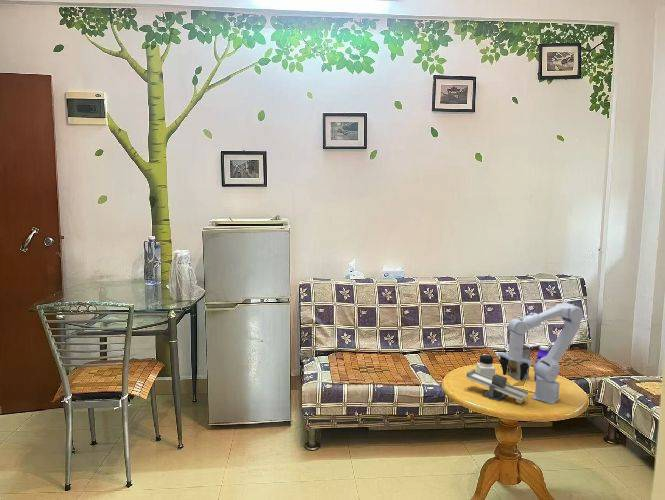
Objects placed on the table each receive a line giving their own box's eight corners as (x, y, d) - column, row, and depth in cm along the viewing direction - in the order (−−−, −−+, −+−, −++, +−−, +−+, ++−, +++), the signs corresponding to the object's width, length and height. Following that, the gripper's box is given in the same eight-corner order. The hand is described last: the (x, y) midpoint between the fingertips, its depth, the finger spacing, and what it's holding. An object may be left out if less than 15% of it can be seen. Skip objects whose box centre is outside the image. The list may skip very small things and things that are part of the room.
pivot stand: (508, 394, 239) (509, 382, 238) (499, 401, 231) (500, 389, 230) (491, 389, 244) (492, 378, 243) (482, 396, 236) (482, 384, 236)
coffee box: (506, 374, 265) (508, 342, 262) (517, 372, 266) (519, 341, 264) (517, 380, 256) (520, 348, 254) (529, 379, 258) (531, 347, 256)
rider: (505, 386, 236) (507, 378, 235) (501, 388, 233) (503, 380, 232) (495, 382, 239) (496, 374, 238) (491, 384, 236) (492, 376, 235)
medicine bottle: (494, 382, 253) (496, 358, 251) (479, 382, 253) (481, 357, 251) (490, 377, 260) (492, 353, 258) (475, 376, 260) (477, 352, 258)
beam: (526, 400, 232) (528, 389, 231) (520, 404, 227) (522, 394, 226) (472, 378, 248) (473, 368, 247) (465, 382, 243) (467, 372, 242)
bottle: (531, 379, 258) (534, 344, 256) (540, 378, 260) (543, 343, 258) (542, 384, 251) (545, 349, 249) (551, 383, 253) (554, 348, 251)
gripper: (496, 344, 231) (493, 374, 233) (528, 352, 221) (525, 384, 223) (503, 341, 236) (500, 370, 238) (535, 349, 227) (532, 380, 228)
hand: (513, 377), depth 231 cm, fingers open, 7 cm apart
